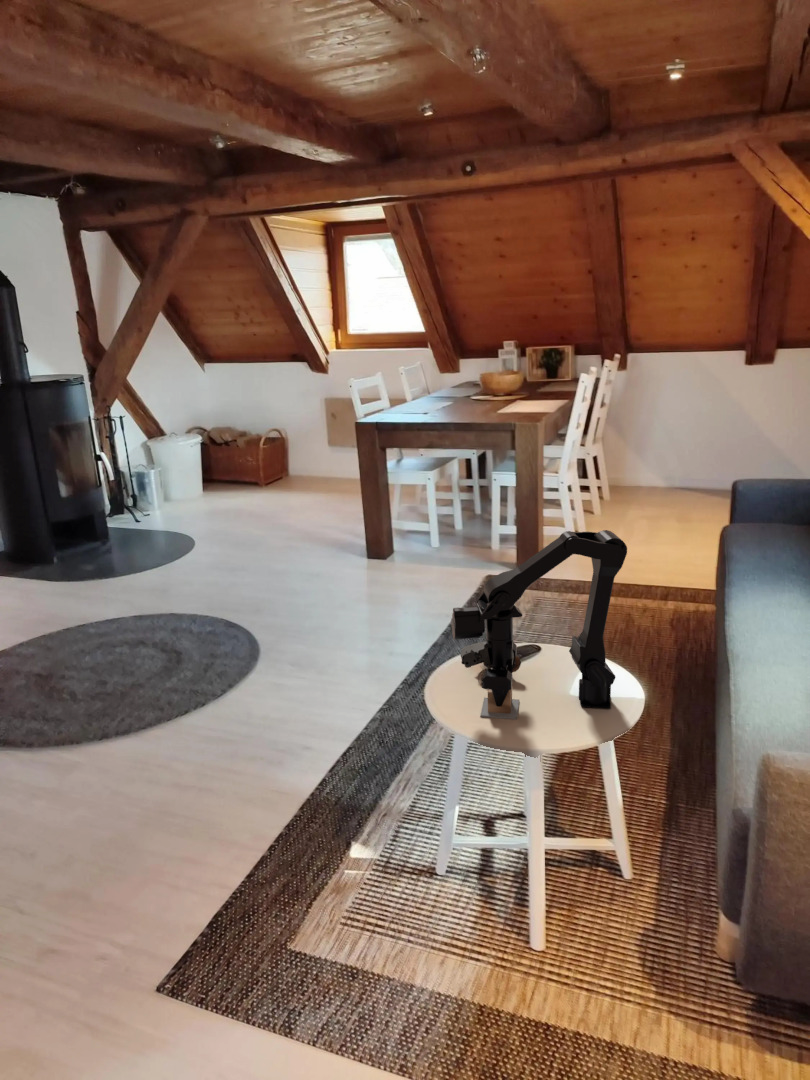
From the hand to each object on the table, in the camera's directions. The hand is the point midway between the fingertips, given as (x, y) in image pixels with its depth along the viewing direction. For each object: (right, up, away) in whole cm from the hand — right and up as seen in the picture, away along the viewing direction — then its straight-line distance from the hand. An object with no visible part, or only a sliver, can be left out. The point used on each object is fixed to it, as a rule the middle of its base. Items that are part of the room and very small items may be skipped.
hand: (500, 698), depth 173 cm
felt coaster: (0, -2, +1) cm, 2 cm away
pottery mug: (+1, +2, +16) cm, 16 cm away
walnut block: (0, -2, +1) cm, 2 cm away
